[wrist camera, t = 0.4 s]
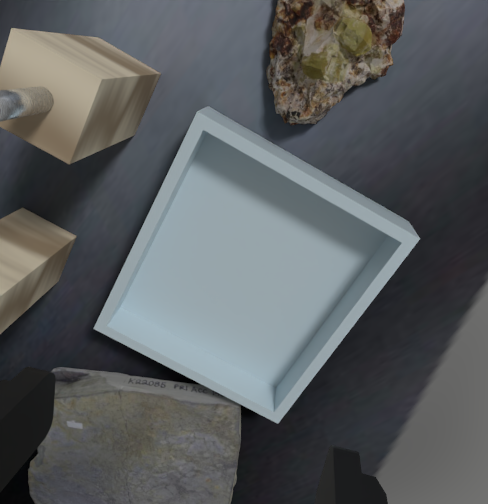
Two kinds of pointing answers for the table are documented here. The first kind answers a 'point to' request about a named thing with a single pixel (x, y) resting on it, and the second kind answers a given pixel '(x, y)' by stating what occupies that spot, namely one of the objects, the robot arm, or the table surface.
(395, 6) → the mineral rock
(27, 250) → the block
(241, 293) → the tray
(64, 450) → the fossil
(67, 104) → the block
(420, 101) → the table surface
